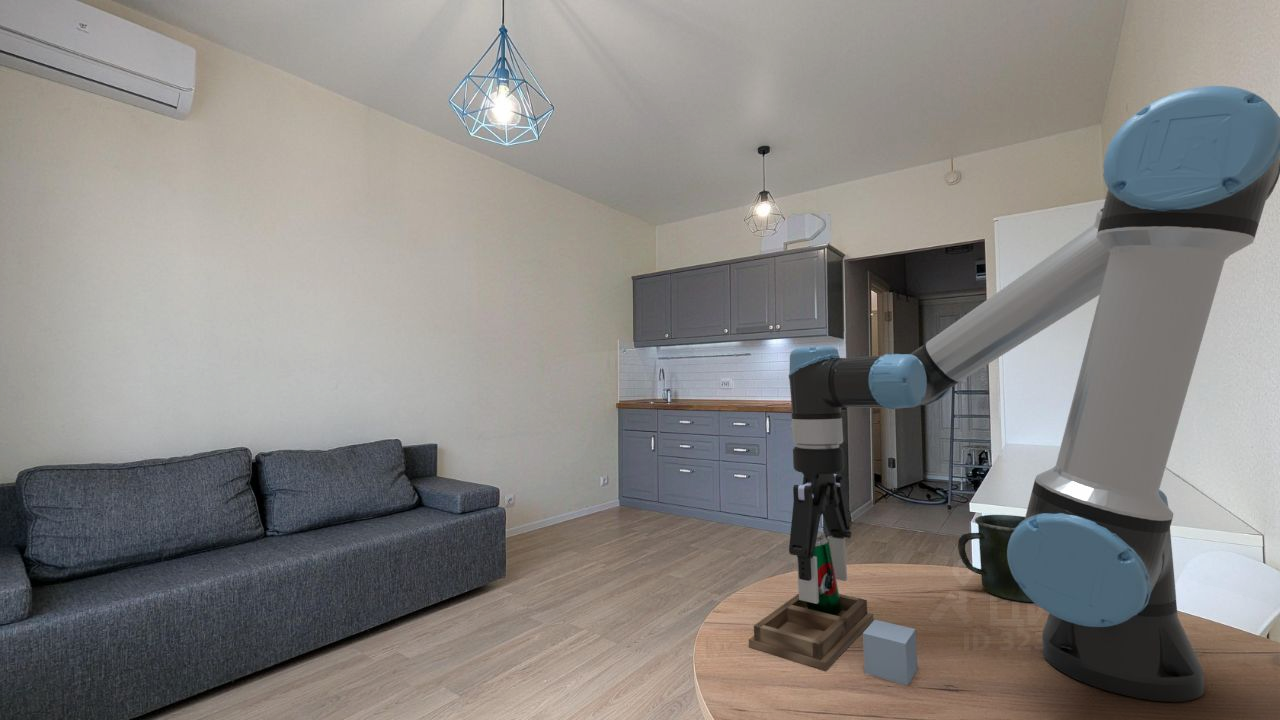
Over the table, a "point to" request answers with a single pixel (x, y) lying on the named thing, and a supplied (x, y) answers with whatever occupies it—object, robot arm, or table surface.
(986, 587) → the mug
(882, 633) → the block
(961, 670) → the table surface
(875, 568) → the table surface
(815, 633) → the caddy
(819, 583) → the soda can
